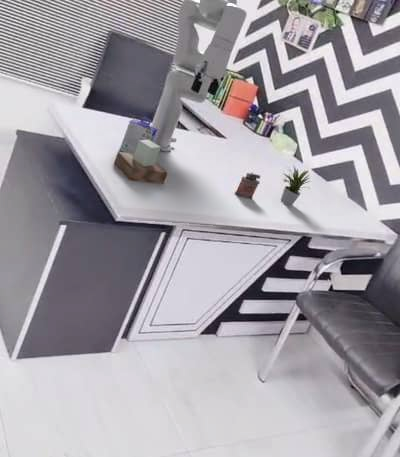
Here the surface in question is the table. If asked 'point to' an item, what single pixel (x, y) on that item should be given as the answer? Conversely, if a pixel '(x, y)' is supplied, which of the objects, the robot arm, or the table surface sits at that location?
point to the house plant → (293, 187)
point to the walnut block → (140, 169)
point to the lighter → (247, 186)
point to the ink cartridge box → (137, 134)
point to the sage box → (146, 152)
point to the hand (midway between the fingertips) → (202, 92)
